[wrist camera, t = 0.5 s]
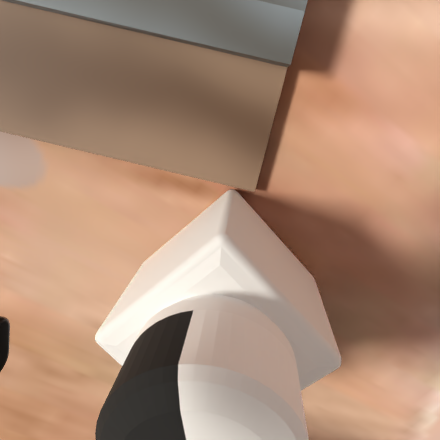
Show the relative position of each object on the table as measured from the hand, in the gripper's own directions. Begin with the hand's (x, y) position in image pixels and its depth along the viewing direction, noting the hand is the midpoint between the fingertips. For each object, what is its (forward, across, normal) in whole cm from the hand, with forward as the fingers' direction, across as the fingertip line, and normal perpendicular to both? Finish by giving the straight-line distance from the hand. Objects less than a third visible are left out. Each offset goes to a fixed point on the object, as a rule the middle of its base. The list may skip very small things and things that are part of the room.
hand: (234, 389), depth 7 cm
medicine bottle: (+14, 0, +4) cm, 14 cm away
